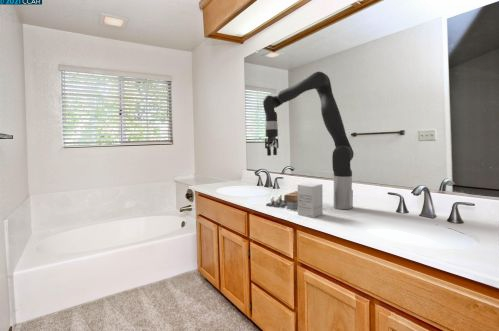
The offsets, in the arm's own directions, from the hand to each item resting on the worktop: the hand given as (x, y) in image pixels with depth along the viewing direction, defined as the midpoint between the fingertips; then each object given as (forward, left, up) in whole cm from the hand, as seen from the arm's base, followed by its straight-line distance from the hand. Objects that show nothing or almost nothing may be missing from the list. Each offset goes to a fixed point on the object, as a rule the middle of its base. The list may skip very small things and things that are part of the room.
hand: (272, 155), depth 170 cm
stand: (-21, +11, -28) cm, 37 cm away
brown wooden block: (-21, +11, -24) cm, 34 cm away
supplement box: (-34, +21, -28) cm, 49 cm away
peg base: (-10, +9, -28) cm, 31 cm away
